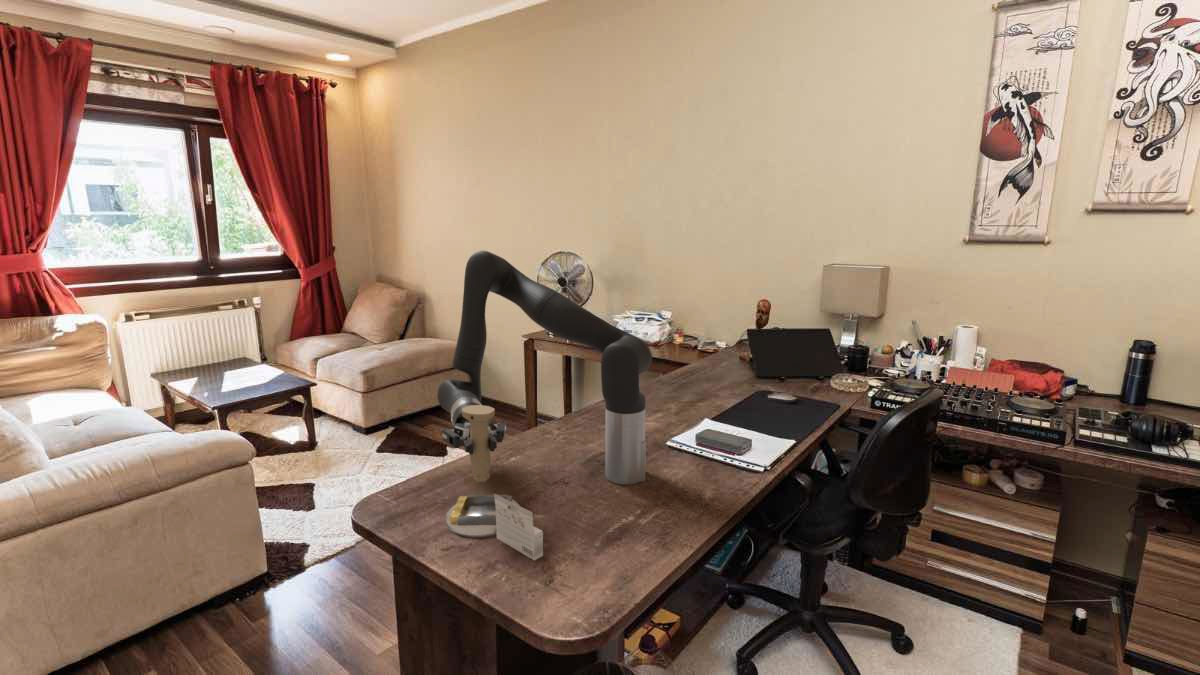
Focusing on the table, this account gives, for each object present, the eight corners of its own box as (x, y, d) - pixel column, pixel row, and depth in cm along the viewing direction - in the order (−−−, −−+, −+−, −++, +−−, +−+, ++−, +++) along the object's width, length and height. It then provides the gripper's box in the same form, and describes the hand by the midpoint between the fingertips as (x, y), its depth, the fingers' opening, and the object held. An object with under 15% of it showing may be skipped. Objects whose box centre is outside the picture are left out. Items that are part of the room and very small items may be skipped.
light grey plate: (524, 498, 126) (524, 488, 126) (515, 537, 112) (515, 525, 111) (456, 499, 126) (455, 488, 126) (438, 537, 111) (437, 526, 111)
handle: (473, 471, 120) (470, 403, 117) (501, 476, 118) (498, 407, 115) (461, 482, 116) (457, 411, 112) (489, 487, 114) (486, 415, 110)
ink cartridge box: (505, 533, 113) (503, 488, 111) (544, 556, 106) (542, 507, 104) (495, 539, 111) (493, 492, 109) (534, 562, 104) (532, 513, 102)
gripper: (435, 405, 125) (443, 435, 109) (500, 398, 130) (517, 425, 114) (437, 437, 127) (446, 471, 111) (501, 429, 132) (518, 460, 116)
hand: (482, 448), depth 113 cm, fingers closed on handle, 3 cm apart
